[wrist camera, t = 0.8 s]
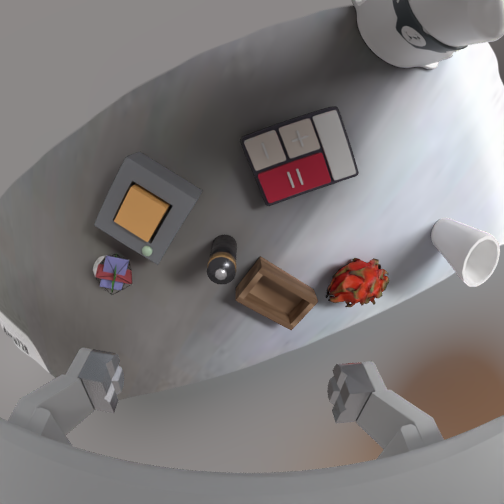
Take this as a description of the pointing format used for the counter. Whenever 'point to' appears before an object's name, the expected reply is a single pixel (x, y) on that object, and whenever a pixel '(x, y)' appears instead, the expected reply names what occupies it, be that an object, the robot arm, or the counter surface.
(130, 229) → the button
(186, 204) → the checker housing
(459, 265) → the foam cup
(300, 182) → the calculator
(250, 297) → the box
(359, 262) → the dragon fruit
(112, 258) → the geometric puzzle
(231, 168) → the counter surface
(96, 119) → the counter surface
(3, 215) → the counter surface
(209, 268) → the battery cell
